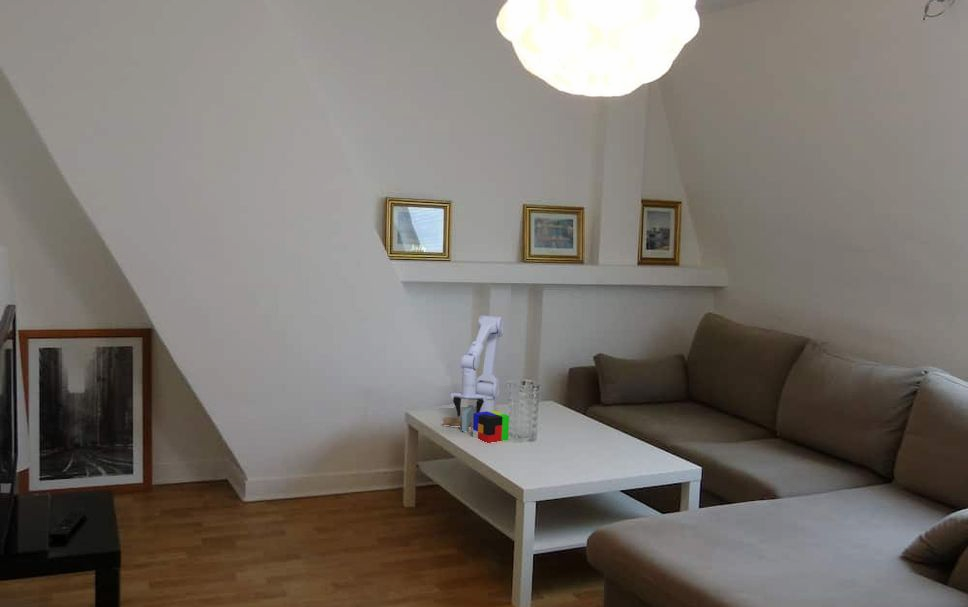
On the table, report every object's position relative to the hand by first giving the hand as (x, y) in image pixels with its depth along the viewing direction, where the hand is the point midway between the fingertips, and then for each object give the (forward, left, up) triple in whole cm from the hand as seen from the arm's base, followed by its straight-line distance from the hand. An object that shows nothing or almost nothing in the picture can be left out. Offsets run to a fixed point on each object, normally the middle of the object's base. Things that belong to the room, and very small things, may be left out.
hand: (468, 416), depth 375 cm
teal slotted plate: (0, 0, -5) cm, 5 cm away
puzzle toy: (+14, +12, -5) cm, 19 cm away
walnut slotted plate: (0, 0, -5) cm, 5 cm away
